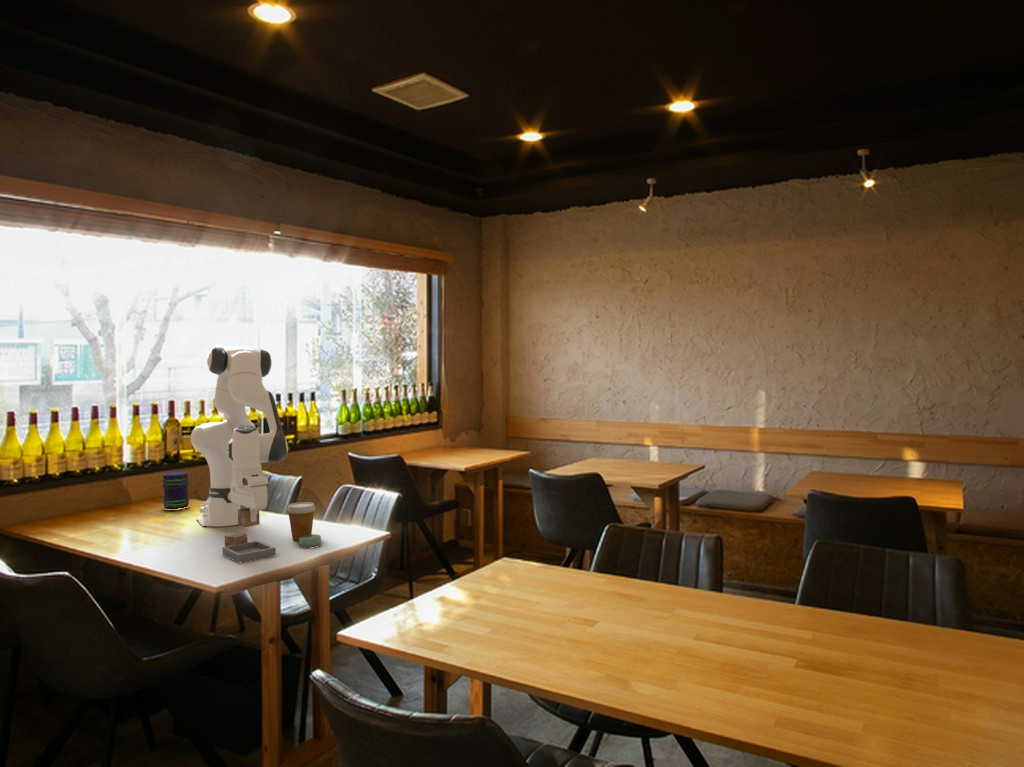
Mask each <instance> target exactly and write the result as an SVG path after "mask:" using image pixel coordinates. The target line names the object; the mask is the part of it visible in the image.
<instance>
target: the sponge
mask: <svg viewBox="0 0 1024 767" xmlns="http://www.w3.org/2000/svg"><path fill="white" fill-rule="evenodd" d="M298 542H299V548H301V547H305V548H304V549H311V548H310V547H315V548H317V547H316V546H319V545H321V546H322V535H320V534H313V533H312V535H304V536H301V537H300V538H299V541H298ZM319 547H320V546H319Z"/></svg>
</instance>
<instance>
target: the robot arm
mask: <svg viewBox="0 0 1024 767" xmlns="http://www.w3.org/2000/svg"><path fill="white" fill-rule="evenodd" d="M206 364H207V367H208V371H209V372H210V373H211V374H215V375H217V379H216V384H215V391H214V392H215V393H214V398H213V406H214V407H215V409H216V410H217V411H218V412H220V413H222V414H223V420H222V421H218V422H217V421H215V422H214V421H213V422H206V423H203V424H200V425H198V426H195V427H194V429H193V430H192V431H191V434H190V442H191V445H192V447H193V449H194V450H196V451H197V452H199V453H200V454H202V456H203V457H204V458H205V459H206V462H207V465H208V468H209V476H210V487H209V490H208V497H207V500H205V501H204V503H203V505H202V506H201V507H199V513H200V514H202V515H199V516H197V517H196V519H197V520H198V521H199V522H198V521H197V520H196V521H197V522H198V523H199V525H200V526H201V525H202V526H201V527H203V526H207V527H231V526H236V525H238V509H243V508H250V511H251V514H250V516H249V521H251V522H255V521H256V520H257V518H256V516H257V513H258V510H259V511H260V510H265V509H267V506H268V488H267V485H269V478H268V477H267V476H266V475H265V473H264V472H263V470H262V463H272V464H273V463H274V464H276V463H277V464H279V463H280V462H282V461H283V460H284V459H285V458H286V457H287V456H288V452H289V450H288V449H289V447H288V445H289V444H288V441H287V438H286V436H285V433H284V431H283V427H282V422H281V419H280V415H279V412H278V408H277V403H276V401H275V397H274V395H273V393H272V391H269V390H267V389H266V388H265V386H264V383H263V378H265V377H266V376H268V375H269V373H270V371H271V369H272V358H271V353H269V351H267V350H264V349H261V348H260V349H256V348H253V347H249V346H248V347H247V346H229V345H228V346H226V345H225V346H223V345H216V346H215V345H214V346H213V347H211V348H210V349H209V352H208V354H207V358H206ZM246 407H248V408H251V409H254V410H257V411H259V412H261V413H263V414H264V416H265V417H266V421H267V424H268V428H269V430H268V431H269V432H268V433H260V431H259V428H258V427H256V425H255V424H254V423H253V422H252V421H251V420H250V419H249V418H248V416H247V412H246Z"/></svg>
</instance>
